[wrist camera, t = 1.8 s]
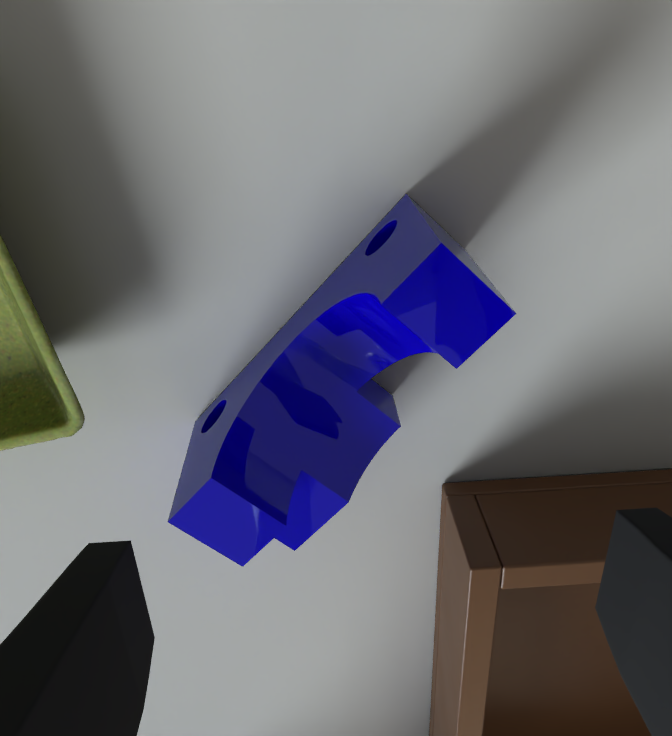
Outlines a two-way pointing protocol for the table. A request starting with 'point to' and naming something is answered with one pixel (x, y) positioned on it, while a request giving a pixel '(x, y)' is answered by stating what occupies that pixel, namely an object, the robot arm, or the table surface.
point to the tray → (531, 606)
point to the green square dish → (30, 371)
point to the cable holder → (330, 387)
